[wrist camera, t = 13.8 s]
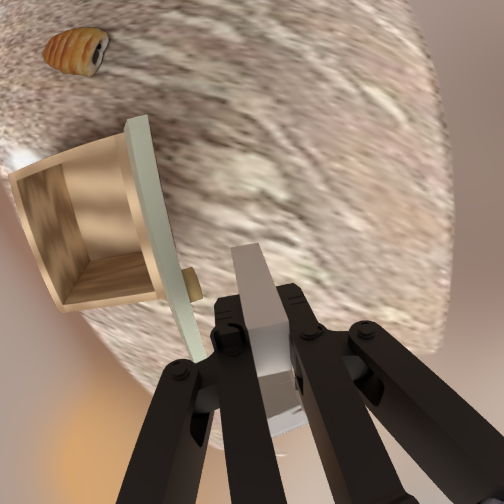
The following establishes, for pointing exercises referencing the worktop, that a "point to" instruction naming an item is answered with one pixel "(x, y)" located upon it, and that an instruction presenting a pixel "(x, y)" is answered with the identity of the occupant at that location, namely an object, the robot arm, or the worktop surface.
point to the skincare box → (282, 403)
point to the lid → (163, 236)
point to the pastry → (76, 51)
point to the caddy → (88, 226)
